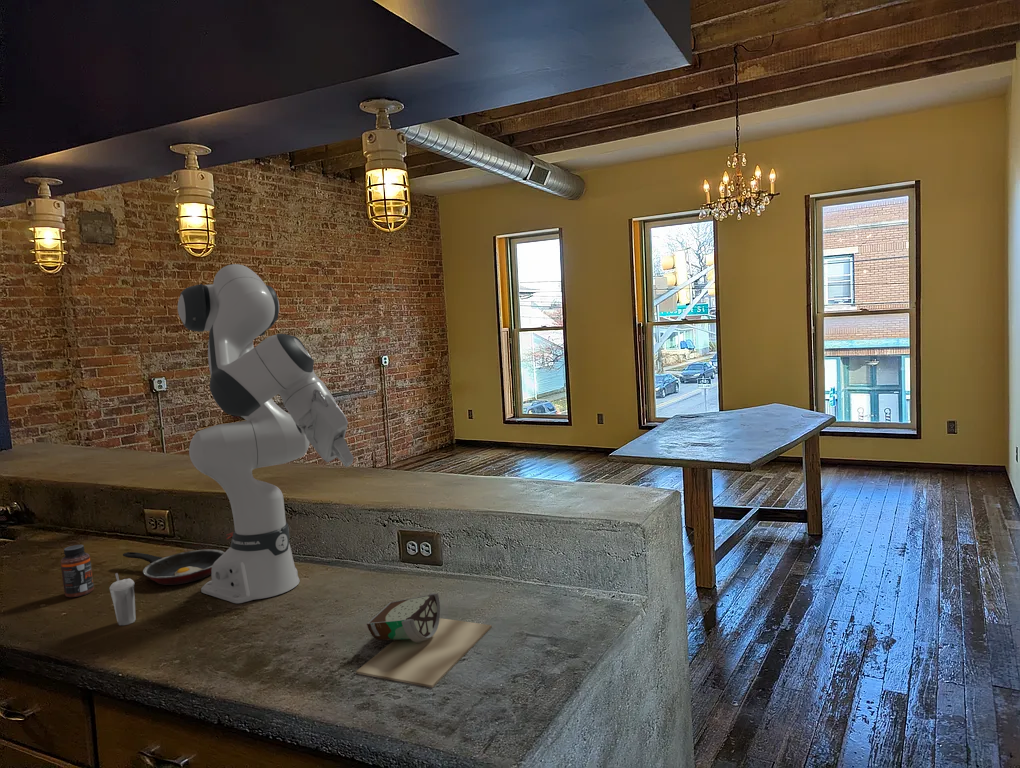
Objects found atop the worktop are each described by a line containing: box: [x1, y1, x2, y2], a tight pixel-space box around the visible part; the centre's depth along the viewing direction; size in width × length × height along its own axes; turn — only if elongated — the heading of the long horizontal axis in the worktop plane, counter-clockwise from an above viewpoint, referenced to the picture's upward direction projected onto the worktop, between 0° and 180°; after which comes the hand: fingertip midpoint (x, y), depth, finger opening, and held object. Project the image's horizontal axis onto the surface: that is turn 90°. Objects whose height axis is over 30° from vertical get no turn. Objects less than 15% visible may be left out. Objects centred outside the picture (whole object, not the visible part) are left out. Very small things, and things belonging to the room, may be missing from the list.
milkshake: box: [109, 572, 137, 626], centre depth 144 cm, size 4×5×10 cm
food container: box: [366, 592, 441, 643], centre depth 127 cm, size 12×6×10 cm
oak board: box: [355, 617, 493, 689], centre depth 123 cm, size 15×22×1 cm
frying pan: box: [122, 549, 225, 586], centre depth 174 cm, size 19×32×4 cm, turn 65°
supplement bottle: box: [60, 544, 95, 598], centre depth 162 cm, size 6×6×11 cm
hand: (350, 463), depth 134 cm, fingers closed
